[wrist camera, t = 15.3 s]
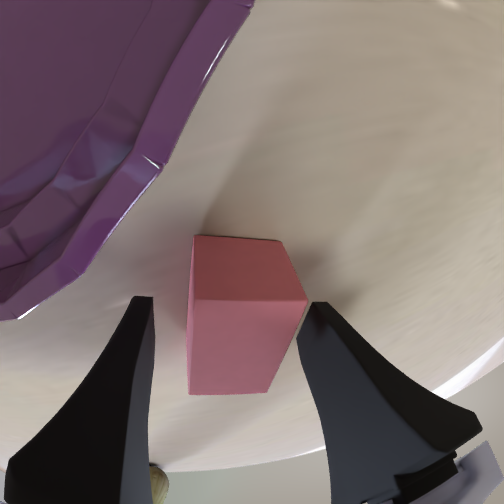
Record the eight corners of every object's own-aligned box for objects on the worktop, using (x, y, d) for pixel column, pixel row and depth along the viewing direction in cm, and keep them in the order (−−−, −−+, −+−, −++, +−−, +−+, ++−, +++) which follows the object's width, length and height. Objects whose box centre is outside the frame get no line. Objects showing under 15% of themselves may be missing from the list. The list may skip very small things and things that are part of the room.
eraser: (253, 335, 13) (267, 393, 10) (186, 334, 12) (188, 395, 10) (281, 240, 10) (309, 300, 8) (193, 234, 9) (194, 298, 7)
